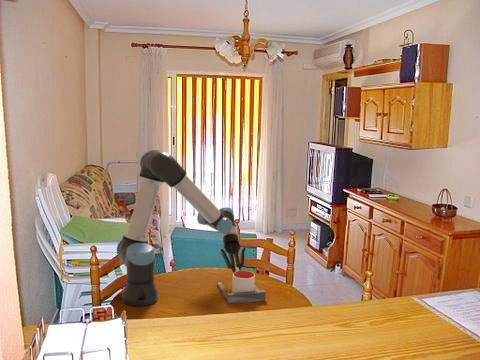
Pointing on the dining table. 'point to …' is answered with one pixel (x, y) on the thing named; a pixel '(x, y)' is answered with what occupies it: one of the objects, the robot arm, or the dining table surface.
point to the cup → (243, 281)
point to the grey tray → (242, 295)
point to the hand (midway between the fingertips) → (238, 281)
